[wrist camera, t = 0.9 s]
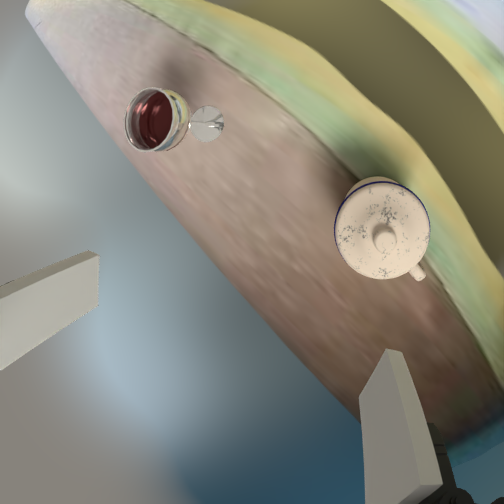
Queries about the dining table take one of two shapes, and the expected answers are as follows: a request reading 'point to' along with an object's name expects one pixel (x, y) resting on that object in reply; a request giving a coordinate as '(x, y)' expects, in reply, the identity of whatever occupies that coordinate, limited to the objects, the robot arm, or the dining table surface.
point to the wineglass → (167, 120)
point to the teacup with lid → (382, 229)
